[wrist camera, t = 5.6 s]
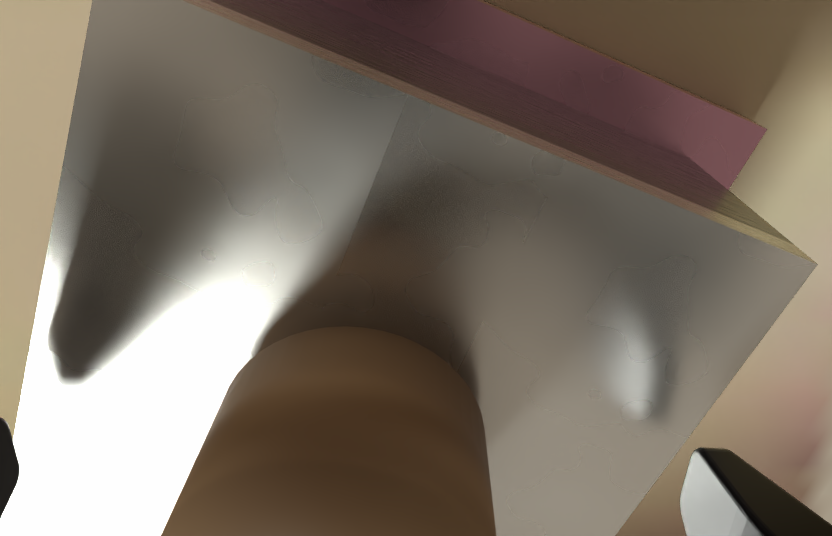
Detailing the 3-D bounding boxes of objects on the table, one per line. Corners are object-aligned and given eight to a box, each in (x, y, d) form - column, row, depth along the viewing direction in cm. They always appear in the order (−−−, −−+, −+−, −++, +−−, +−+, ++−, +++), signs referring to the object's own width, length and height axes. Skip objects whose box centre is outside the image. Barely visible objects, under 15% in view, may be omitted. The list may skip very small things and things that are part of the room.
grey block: (744, 116, 13) (938, 224, 8) (502, 503, 18) (530, 726, 13) (197, -128, 12) (14, -183, 6) (84, 366, 16) (-74, 560, 11)
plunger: (619, 191, 13) (822, 457, 6) (466, 459, 15) (491, 835, 9) (258, 41, 11) (34, 169, 5) (166, 359, 14) (-52, 701, 8)
